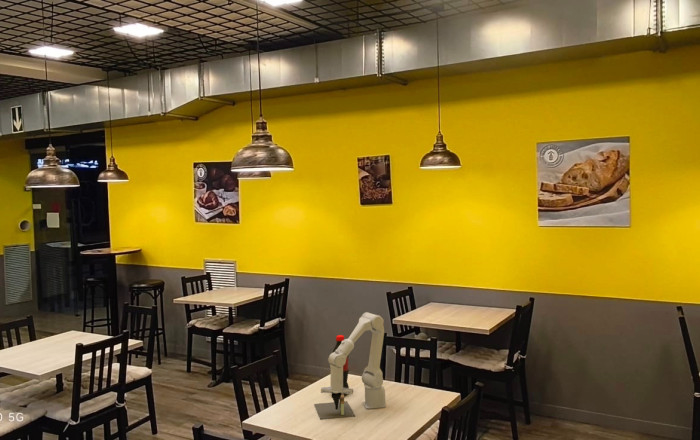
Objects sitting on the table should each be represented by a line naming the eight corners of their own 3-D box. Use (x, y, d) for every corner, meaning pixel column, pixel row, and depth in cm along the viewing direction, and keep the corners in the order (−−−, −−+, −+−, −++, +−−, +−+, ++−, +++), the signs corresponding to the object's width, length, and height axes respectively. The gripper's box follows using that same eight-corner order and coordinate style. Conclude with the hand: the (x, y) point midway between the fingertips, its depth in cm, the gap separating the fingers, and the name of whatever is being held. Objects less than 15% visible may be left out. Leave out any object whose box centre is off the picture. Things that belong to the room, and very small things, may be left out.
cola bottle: (338, 390, 282) (338, 332, 281) (352, 393, 277) (351, 335, 276) (328, 395, 276) (328, 336, 274) (342, 398, 271) (341, 338, 270)
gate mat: (346, 402, 266) (346, 386, 266) (355, 416, 248) (355, 400, 248) (314, 404, 263) (314, 389, 262) (320, 419, 245) (320, 403, 245)
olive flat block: (339, 407, 257) (339, 394, 257) (343, 407, 257) (343, 394, 257) (340, 415, 248) (340, 401, 247) (344, 415, 248) (344, 401, 247)
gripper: (319, 381, 246) (319, 411, 247) (351, 382, 244) (351, 412, 245) (322, 376, 253) (322, 405, 254) (353, 377, 251) (353, 407, 252)
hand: (336, 408), depth 250 cm, fingers closed
